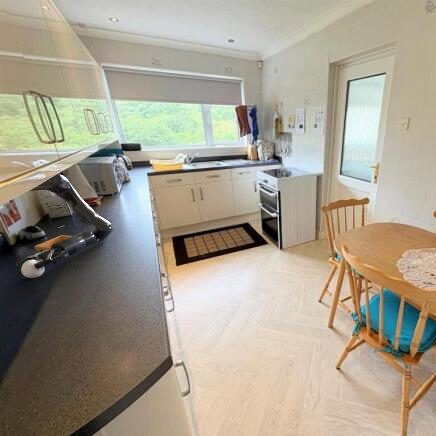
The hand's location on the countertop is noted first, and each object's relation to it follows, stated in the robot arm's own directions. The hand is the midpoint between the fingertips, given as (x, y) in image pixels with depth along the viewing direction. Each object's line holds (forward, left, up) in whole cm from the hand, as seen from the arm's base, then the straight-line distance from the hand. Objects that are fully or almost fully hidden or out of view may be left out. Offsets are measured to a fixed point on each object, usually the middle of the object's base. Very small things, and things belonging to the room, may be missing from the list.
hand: (26, 266), depth 89 cm
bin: (-16, +23, -6) cm, 29 cm away
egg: (0, +1, -6) cm, 6 cm away
